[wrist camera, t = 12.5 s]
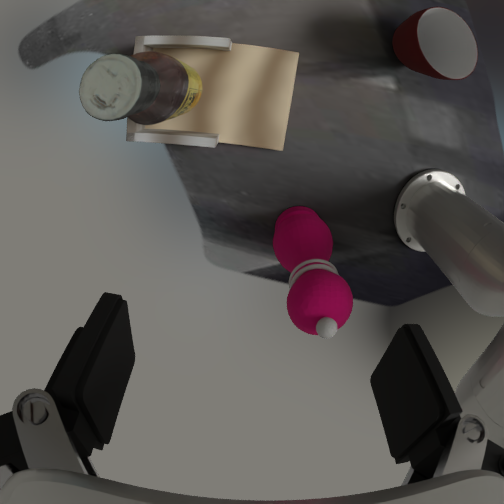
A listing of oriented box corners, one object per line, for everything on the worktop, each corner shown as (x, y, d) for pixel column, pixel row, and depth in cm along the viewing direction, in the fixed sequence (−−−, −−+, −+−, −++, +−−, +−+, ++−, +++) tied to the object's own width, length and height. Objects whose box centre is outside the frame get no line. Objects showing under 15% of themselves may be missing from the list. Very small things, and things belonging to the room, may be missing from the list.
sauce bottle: (164, 123, 33) (79, 164, 16) (144, 77, 30) (42, 78, 13) (215, 101, 32) (173, 114, 15) (195, 53, 29) (132, 18, 12)
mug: (408, -2, 25) (449, -18, 16) (450, 42, 27) (496, 39, 19) (365, 46, 29) (401, 36, 21) (411, 90, 32) (455, 95, 23)
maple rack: (297, 54, 30) (304, 49, 26) (281, 149, 36) (285, 157, 32) (145, 41, 29) (131, 36, 25) (136, 134, 35) (122, 141, 31)
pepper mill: (270, 251, 43) (281, 365, 26) (271, 201, 39) (286, 301, 22) (322, 251, 43) (360, 360, 26) (327, 202, 39) (380, 297, 22)
